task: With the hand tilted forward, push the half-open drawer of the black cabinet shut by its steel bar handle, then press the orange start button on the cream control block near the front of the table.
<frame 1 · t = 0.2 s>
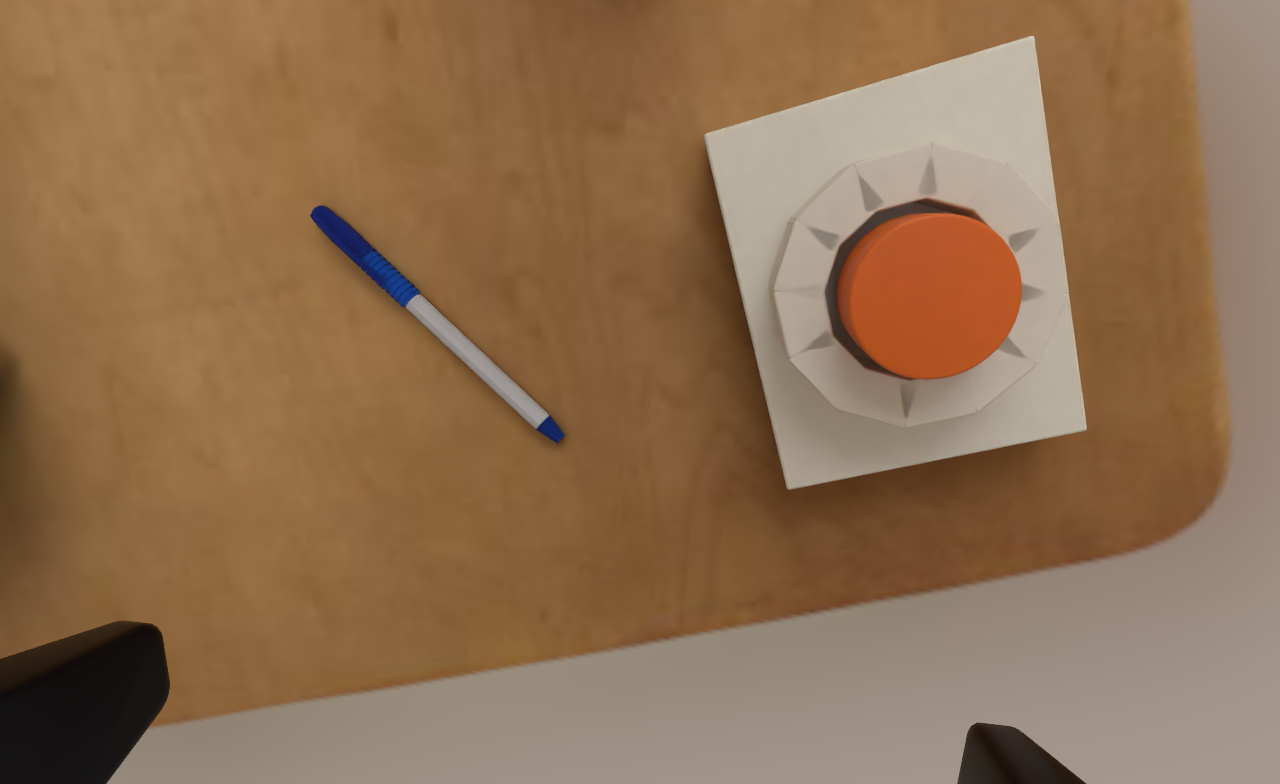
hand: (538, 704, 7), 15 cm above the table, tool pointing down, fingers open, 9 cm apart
ballpoint pen: (448, 323, 22), on the table
start button: (923, 294, 16), point 4 cm above the table, slide at 0.1 cm
button block: (881, 278, 20), on the table
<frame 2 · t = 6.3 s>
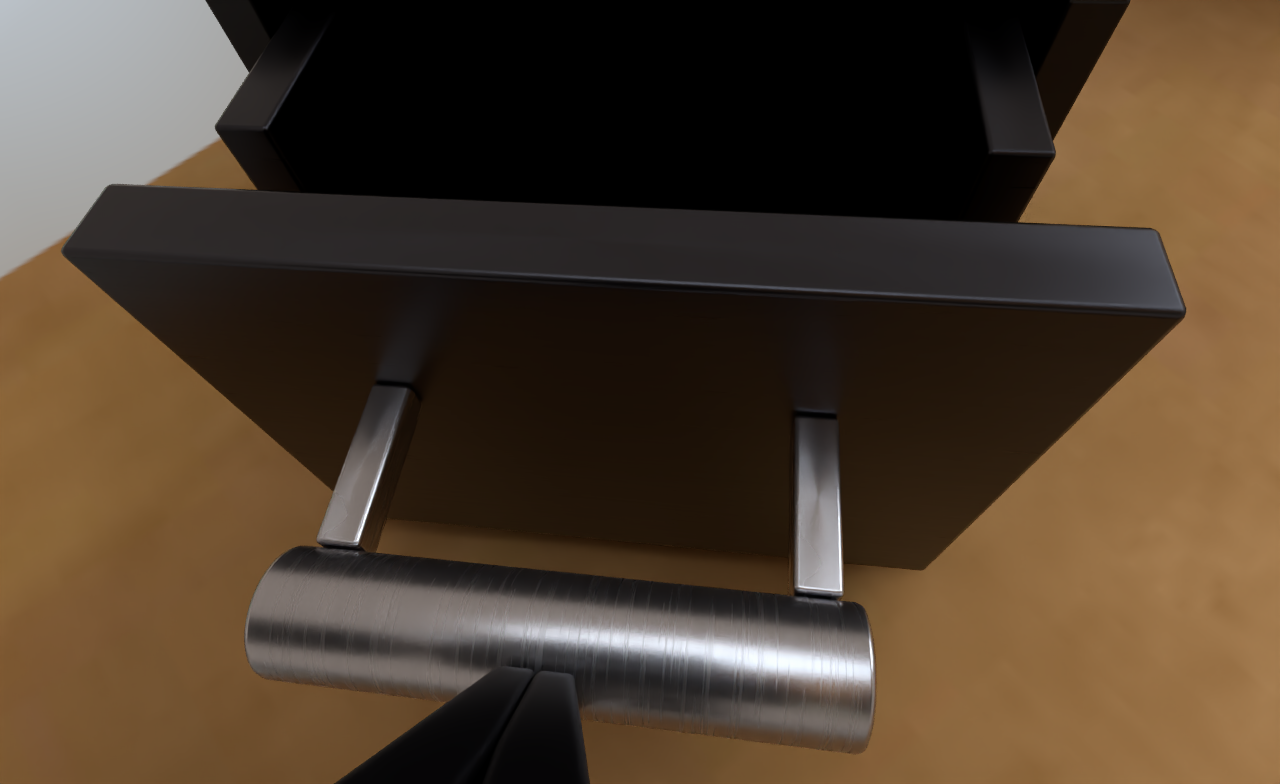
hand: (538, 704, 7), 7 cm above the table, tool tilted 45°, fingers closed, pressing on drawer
drawer: (646, 220, 14), point 5 cm above the table, slide at 4.0 cm, touching gripper
black cabinet: (681, 163, 22), on the table
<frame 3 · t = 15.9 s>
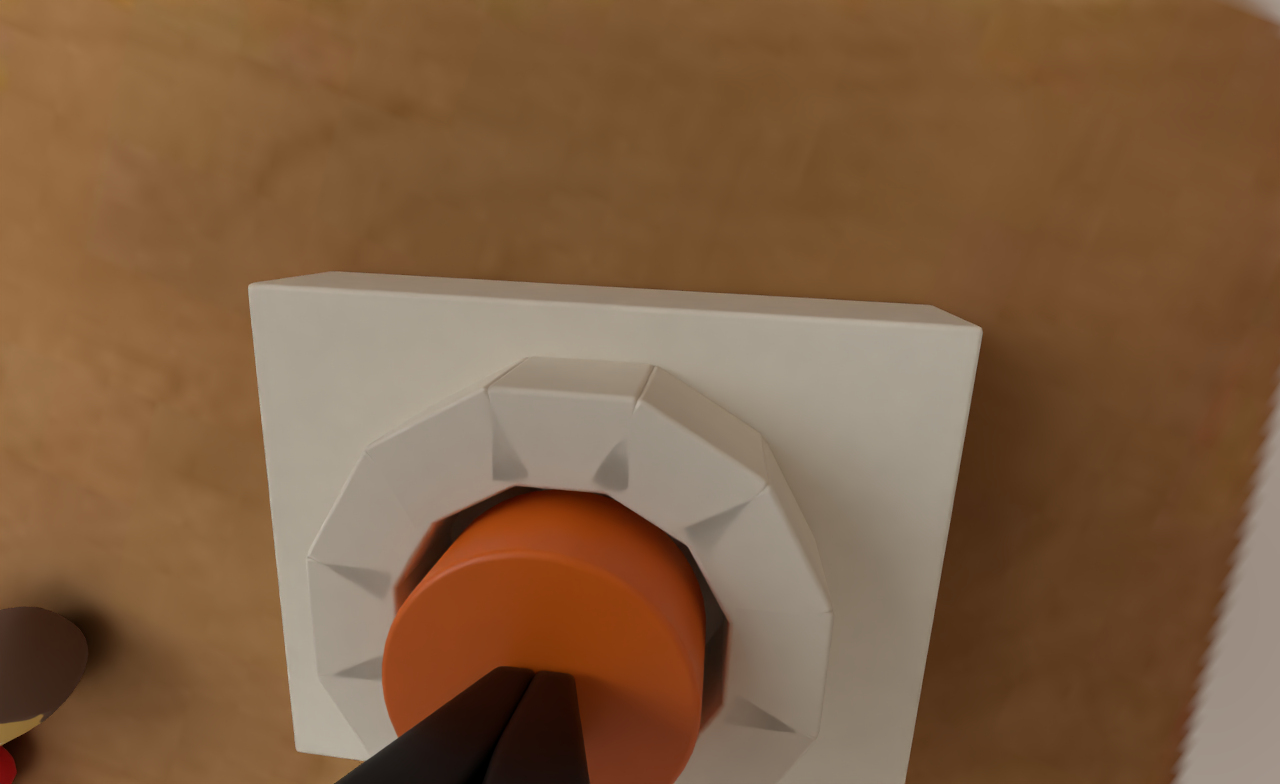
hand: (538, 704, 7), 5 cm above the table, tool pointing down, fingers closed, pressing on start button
start button: (554, 653, 8), point 4 cm above the table, slide at -0.3 cm, touching gripper
button block: (610, 511, 12), on the table
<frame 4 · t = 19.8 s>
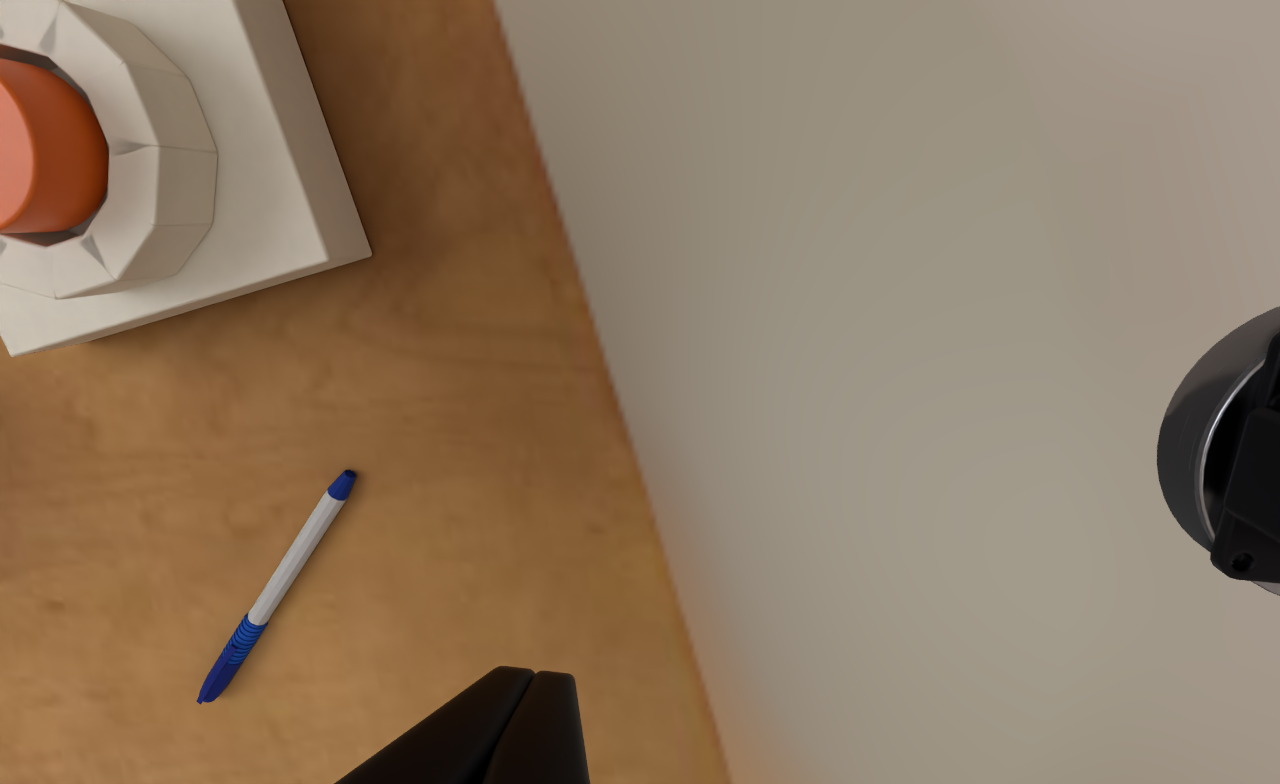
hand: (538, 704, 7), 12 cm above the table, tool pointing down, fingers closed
ballpoint pen: (284, 583, 23), on the table
button block: (165, 162, 19), on the table
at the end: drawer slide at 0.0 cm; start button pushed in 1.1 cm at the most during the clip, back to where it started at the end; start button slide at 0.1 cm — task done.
